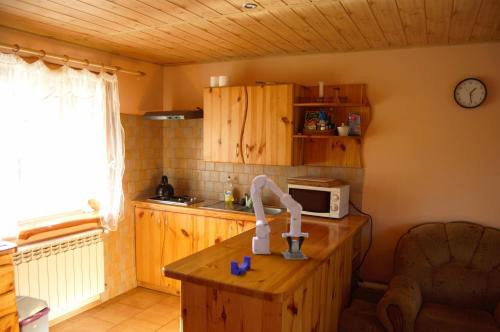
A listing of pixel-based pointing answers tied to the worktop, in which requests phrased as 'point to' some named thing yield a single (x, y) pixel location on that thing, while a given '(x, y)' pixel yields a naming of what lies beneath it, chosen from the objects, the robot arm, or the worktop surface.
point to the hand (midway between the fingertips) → (294, 249)
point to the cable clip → (243, 267)
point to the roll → (295, 246)
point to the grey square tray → (294, 255)
